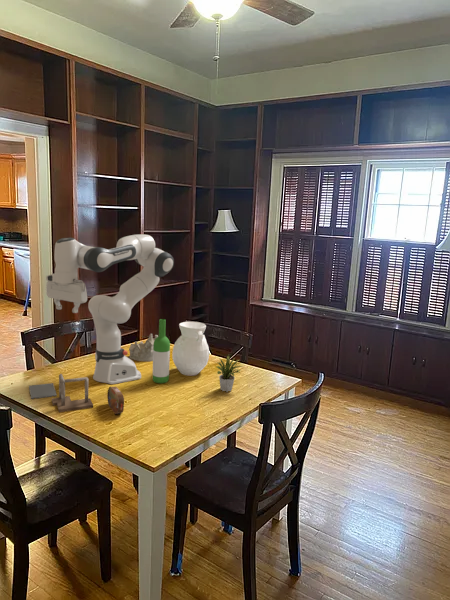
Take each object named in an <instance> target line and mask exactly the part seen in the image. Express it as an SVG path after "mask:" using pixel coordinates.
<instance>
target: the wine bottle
mask: <svg viewBox="0 0 450 600" xmlns="http://www.w3.org/2000/svg"><path fill="white" fill-rule="evenodd" d="M158 322H159V323H158V337H157V338H156V339H155V341H154V345H153V361H152V381H153V383H157V384H165V383H168V382H169V379H170V359H171V357H170V355H171V341H170V340H169V338H168V337H167V335H166V324H167V323H166V319H165V318H160V319H159V321H158Z"/></svg>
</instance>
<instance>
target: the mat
mask: <svg viewBox="0 0 450 600" xmlns="http://www.w3.org/2000/svg"><path fill="white" fill-rule="evenodd" d="M28 388H29V389H28V390H29V394H30V395H31V396H30V395H29V396H30V399H31V400H35V399H34V398H36V399H43V398H53V397H58V394H57V391H56V388H55V385H54V383H52V382H51V383H41V384H40V383H39V384H34V385H28ZM52 396H53V397H52Z"/></svg>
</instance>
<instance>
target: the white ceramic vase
mask: <svg viewBox="0 0 450 600" xmlns="http://www.w3.org/2000/svg"><path fill="white" fill-rule="evenodd" d="M178 326H179V329H180V332H181V335H180V336H179V337H178V338H177V339H176V341H175V342H174V345H173V348H172V354H171V355H172V361H173V363H174V365H175V368H176V369H177V370H178V372H180V374H181V375H184V376H197V375H198V374H199V373H200V372H201V371H202V370H204V368H205V367H206V366H207V365H208V363H209V359H210V348H209V344H208V342H207V339H206V336H205V334H204V333H205V331H206V328H207V325H206V324H205V323H204V322H199V321H183V322H180V323H179V324H178Z"/></svg>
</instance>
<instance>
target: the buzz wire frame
mask: <svg viewBox="0 0 450 600" xmlns="http://www.w3.org/2000/svg"><path fill="white" fill-rule="evenodd" d="M63 375H64V374H63V373H60V374H58V396H57V397H51V404H52V406H53V407H55V406H56V407H57V410H58V412H59V413H63V412H65V411H66V412H71V411H79V410H87V409H92V408H94V404H93V402H92V399H91V398H89V378H88V377H87V376H85V377H84V376H83V377H77V378H67V379H64V376H63ZM81 381H82V382H83V381H84V398H81V399H75V400H74V399H73V400H72V399H71V396H70V395H68V396H66V383H72V382H73V383H74V382H81ZM54 405H55V406H54Z"/></svg>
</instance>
